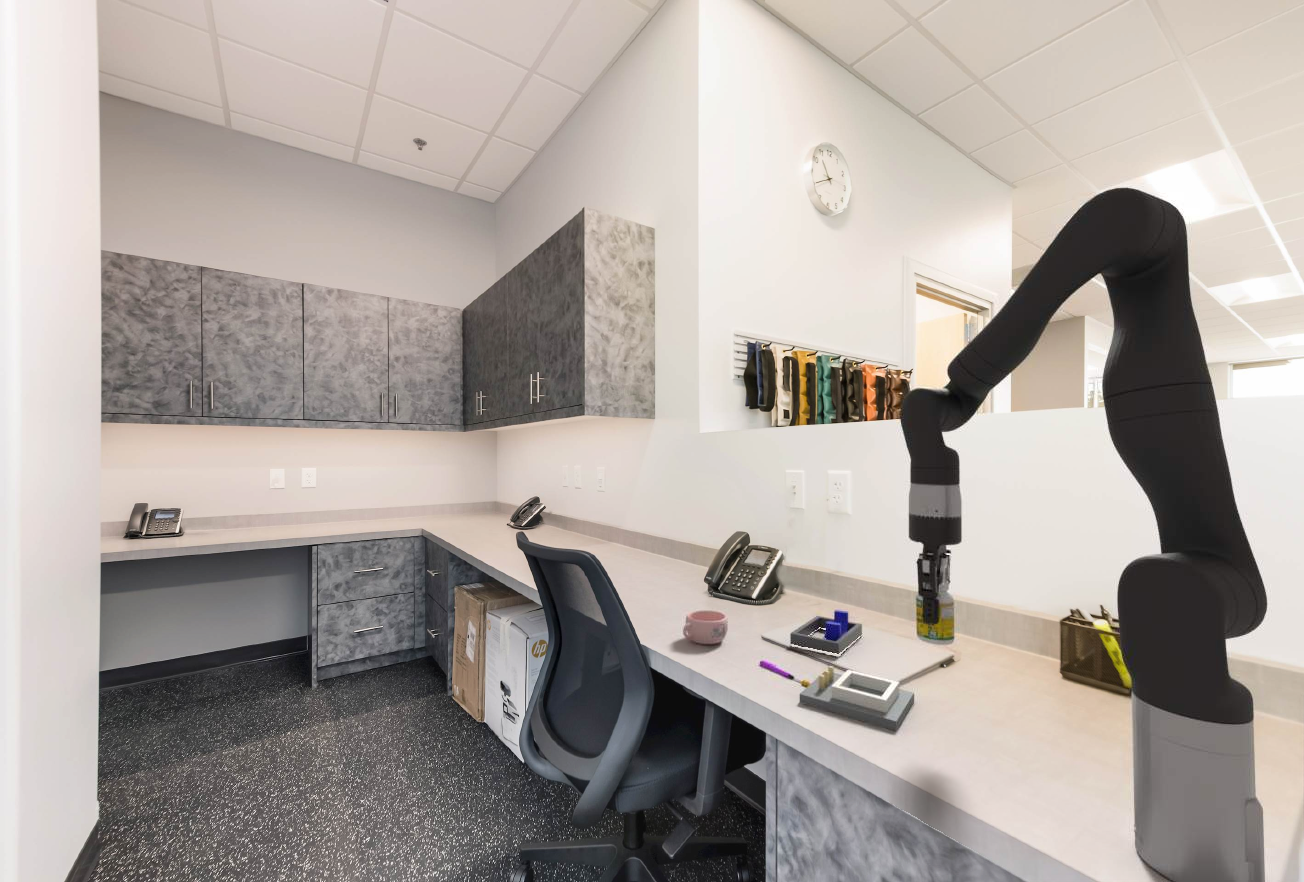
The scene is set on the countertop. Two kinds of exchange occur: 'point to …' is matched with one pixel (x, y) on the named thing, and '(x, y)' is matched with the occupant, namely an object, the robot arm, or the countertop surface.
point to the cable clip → (837, 626)
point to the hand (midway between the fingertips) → (934, 617)
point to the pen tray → (838, 646)
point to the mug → (706, 626)
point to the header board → (859, 697)
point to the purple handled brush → (782, 672)
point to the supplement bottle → (945, 626)
